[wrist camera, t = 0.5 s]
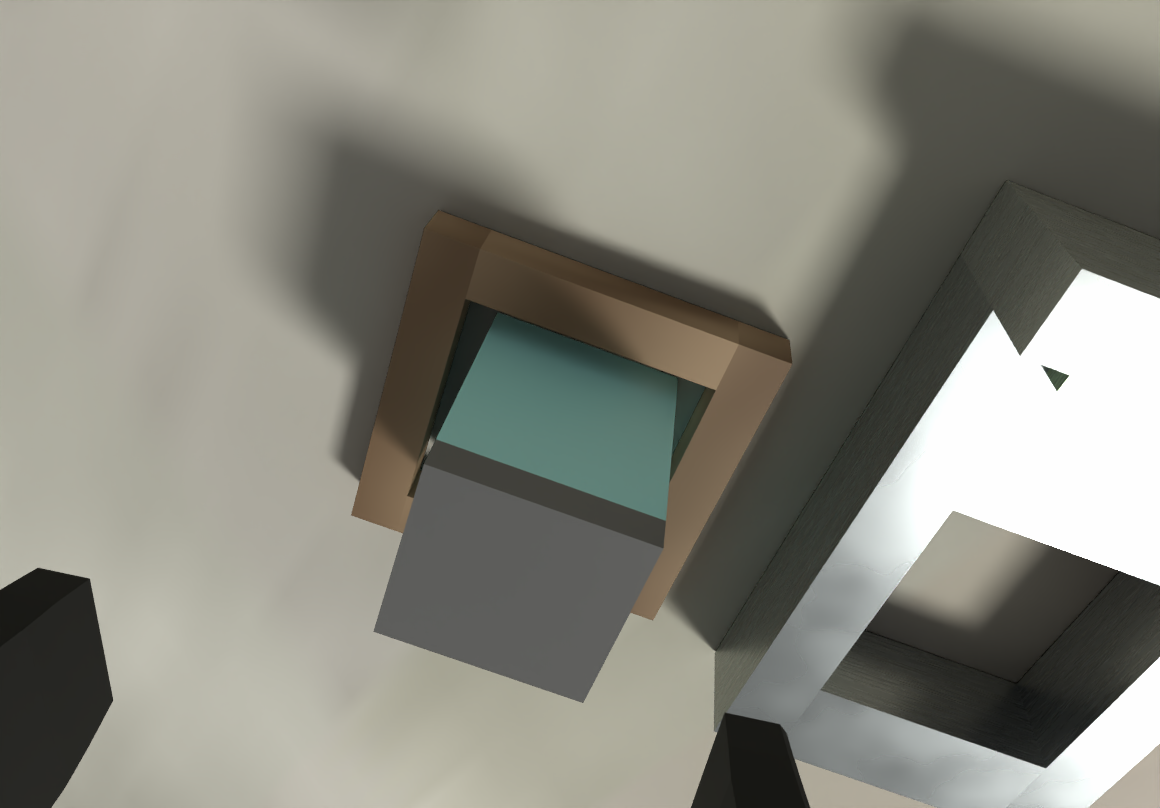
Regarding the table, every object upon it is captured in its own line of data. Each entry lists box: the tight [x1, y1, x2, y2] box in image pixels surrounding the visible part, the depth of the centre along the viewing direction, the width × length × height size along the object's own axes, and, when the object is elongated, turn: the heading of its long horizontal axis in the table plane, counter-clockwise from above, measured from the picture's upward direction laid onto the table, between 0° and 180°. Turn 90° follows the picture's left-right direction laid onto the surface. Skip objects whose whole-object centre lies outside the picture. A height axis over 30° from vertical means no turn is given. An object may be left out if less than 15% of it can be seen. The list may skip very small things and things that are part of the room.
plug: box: [374, 312, 678, 703], centre depth 18 cm, size 4×4×6 cm
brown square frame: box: [351, 210, 792, 620], centre depth 20 cm, size 7×7×1 cm
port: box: [714, 180, 1160, 808], centre depth 18 cm, size 8×13×4 cm, turn 161°
